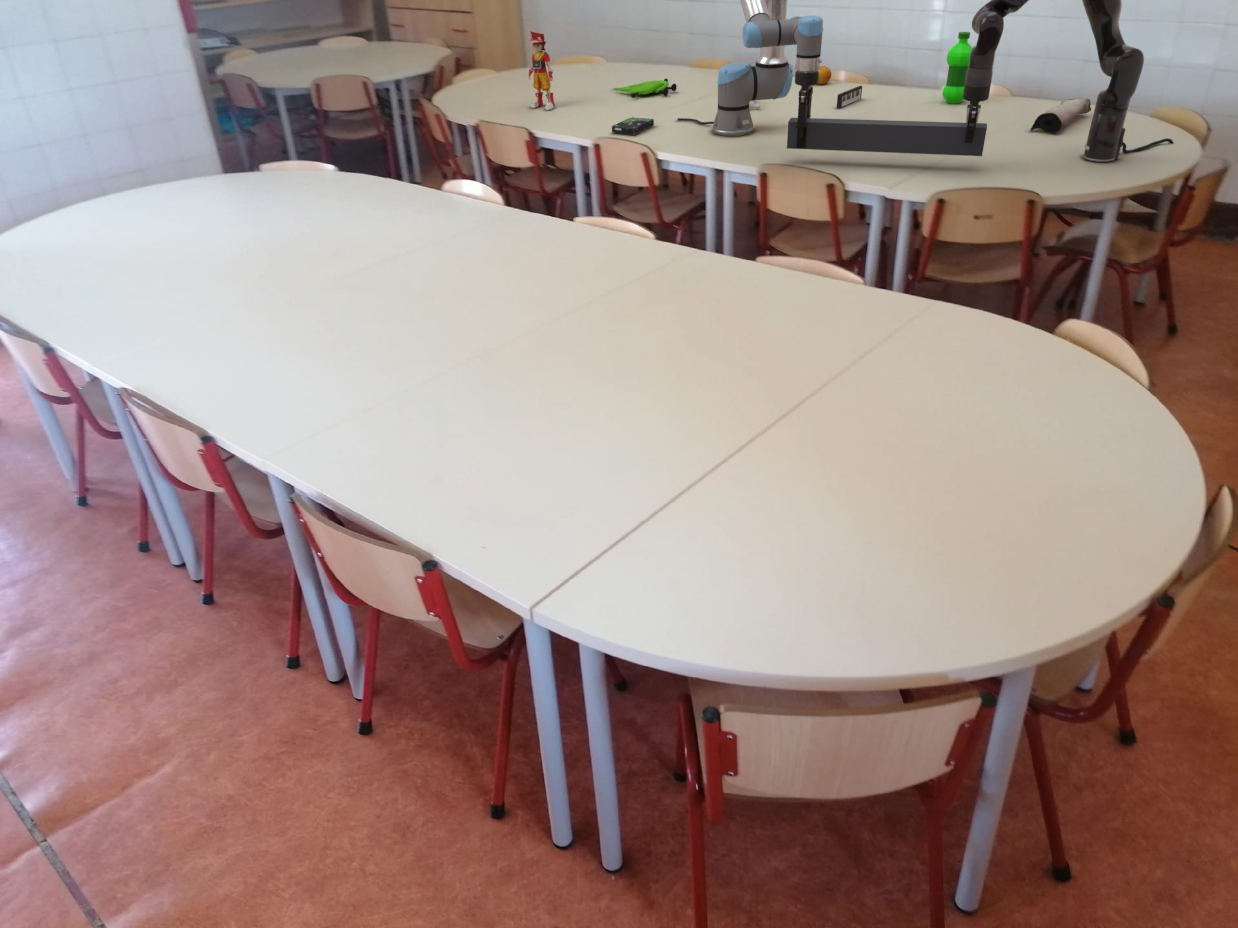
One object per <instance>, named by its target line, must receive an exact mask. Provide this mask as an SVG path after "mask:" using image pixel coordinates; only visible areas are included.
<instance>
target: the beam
mask: <svg viewBox="0 0 1238 928" xmlns="http://www.w3.org/2000/svg"><path fill="white" fill-rule="evenodd" d="M797 121H798V117H790V118H789V120H788V122H787V136H786V137H787V140H786V149H789V150H791V149H792V150H813V151H814V150H815V151H840V152H861V153H862V152H863V153H866V152H867V153H893V154H912V155H913V154H915V155H916V154H918V155H940V156H969V157H983V152H984V147H985V141H986V136H987V131H988V123H986V122H977V123H976V129H975V131H974V135H973V141H972V143H965V137H966V131H967V130H966V127H967V122H959V121H958V122H957V121H956V122H955V121H954V122H952V121H951V122H950V121H919V120H917V121H916V120H888V119H856V118H855V119H851V118H817V117H816V118H815V117H810V118H807V120H806V127H807V128H806V142H805V148H797V133H798V128H796V126H797ZM969 126H974V123H969Z"/></svg>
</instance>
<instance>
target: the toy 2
mask: <svg viewBox="0 0 1238 928" xmlns="http://www.w3.org/2000/svg"><path fill="white" fill-rule="evenodd" d="M669 85H670V83H669V79H668V78H664V79H663V80H649V81H644V82H640V83H634V84H629V85H627V86H621V87H613V88H612V89H613V90H616V91H619V92H623V93H627V94H628V93H629V94H631V95H630V96H631V98H632V99H634V98H636V96H637V95H650V94H652V93H654V94H658V93H662V95H663V96H665V97H667V96H668V95H669V90H671V91H672V92H676V91H677V84H676V83H672V84H671V86H669Z"/></svg>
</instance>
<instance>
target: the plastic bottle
mask: <svg viewBox="0 0 1238 928" xmlns="http://www.w3.org/2000/svg"><path fill="white" fill-rule="evenodd" d="M970 36H971V32H970V31H959V32H958V36H957V39H958V42H957V43H956V44H954V45H953V46H952V47H951V48H950V49H949V50H948V52H947V54H946V63H947V64H948V69H947V70H948V71H947V76H946V77H947V78H946V84H945V85H944V87H943V90H942V97H943V99H944V100H945V101H946V102H947V103H948V104H960V103H961V102H963V101H965V100H964V99H963V92H964V85H965V79H966V73H967V70H968V65H969V59H970V53H971V50H972V48H973V47H972V45H971V44H970V43H969V42H968V41H969V39H970V38H971V37H970Z"/></svg>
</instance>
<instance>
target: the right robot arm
mask: <svg viewBox="0 0 1238 928" xmlns="http://www.w3.org/2000/svg"><path fill="white" fill-rule="evenodd" d="M1029 1H1030V0H990V1H988V2H986V3H985V4H984V5H983V6H982V7H981V8H979V9H978V10H977V11H976V13H975V14H974V16H973V17H972V19H971V29H972V30H973V31H974V33H976V34H977V35H978V37H977V40H976V45H974V46H973V47H972V50H971V53H970V59H969V65H968V70H967V73H966V79H965V85H964V92H963V99H964V100H963V101H967V102H969V103H968V104H967V105H966V116H965V123H967V127H966V130H967V131H966V137H965V143H972V141H973V135H974V131H975V129H976V123H979V117H980V113H981V110H982V104H980V102H986V101H987V100H989V97H990V93H991V86H992V80H993V74H994V63H995V59H996V52H997V50H998V47H999V44H1000V41H1001V38H1002V35H1003V34H1004V33H1003V32H1004V27H1005V20H1004V18H1005V17H1007V16H1008V15H1009V14H1013V13H1016V12H1018V11H1019V10H1020V9H1021V8H1022V7H1024V6H1025V5H1026V4H1027V3H1028V2H1029ZM1081 1H1082V4H1083V8H1084V11H1085V14H1086V17H1087V20H1088V22H1089V25H1090V29H1091V31H1092V35H1093V38H1094V41H1095V45H1096V52H1097V56H1098V62H1099V67H1100V70H1101V72H1102V73H1103V74H1104V75H1106V76H1107V77H1110V81H1109V83H1108V87H1107V88H1106V89H1102V90H1100V91H1099V92H1098V94H1097V98H1096V101H1095V106H1094V110H1093V114H1092V118H1091V123H1090V127H1089V131H1088V136H1087V140H1086V144H1084V150H1083V154H1082V158H1083V159H1084V160H1086V161H1090V162H1096V163H1110V162H1114V161H1115V160H1119V156H1120V152H1121V151H1122V152H1123V153H1124V154H1130V153H1131V154H1132V153H1135V152H1140V151H1142V150H1147V149H1149V148H1151V147H1153V146H1156V145H1159V144H1162V143H1166V142H1167V143H1169V144H1171V145H1173V144H1174V141H1173V139H1171V138H1162V139H1159V140H1156V141H1153V142H1150V143H1148V144H1145V145H1143V146H1139V147H1136V148H1134V149H1127V144H1126V143H1125V142H1124V137H1125V133H1126V128H1125V127H1124V125H1125V121H1126V119H1127V118H1126V117H1127V115H1128V110H1129V105H1130V102H1131V99H1132V98H1133V96H1134V94H1135V92H1136V90H1137V87H1138V85H1139V81H1140V78H1141V75H1142V71H1143V68H1144V64H1145V56H1144V53H1143V51H1142V50H1141V49H1140V48H1137V47H1134V46H1131V45H1127V44H1126V42H1125V40H1124V37H1123V35H1122V32H1121V29H1120V18H1121V13H1122V0H1081ZM969 123H974V126H969ZM1121 148H1122V149H1121Z"/></svg>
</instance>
